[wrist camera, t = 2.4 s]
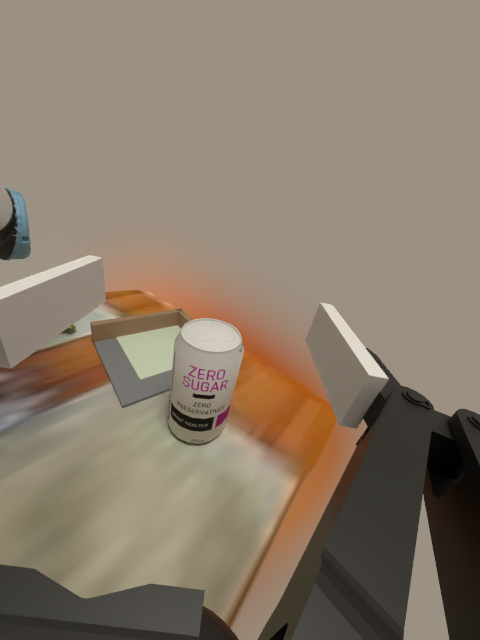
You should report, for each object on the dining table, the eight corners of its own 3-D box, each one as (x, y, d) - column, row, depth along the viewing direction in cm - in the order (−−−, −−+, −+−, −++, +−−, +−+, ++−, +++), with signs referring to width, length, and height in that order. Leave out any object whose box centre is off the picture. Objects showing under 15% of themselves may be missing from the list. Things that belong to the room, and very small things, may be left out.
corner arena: (92, 340, 44) (90, 322, 42) (179, 323, 56) (181, 308, 54) (122, 407, 33) (121, 387, 31) (223, 369, 45) (227, 352, 43)
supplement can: (209, 391, 39) (224, 313, 32) (235, 432, 33) (260, 347, 26) (160, 407, 35) (165, 319, 28) (180, 457, 29) (193, 363, 22)
